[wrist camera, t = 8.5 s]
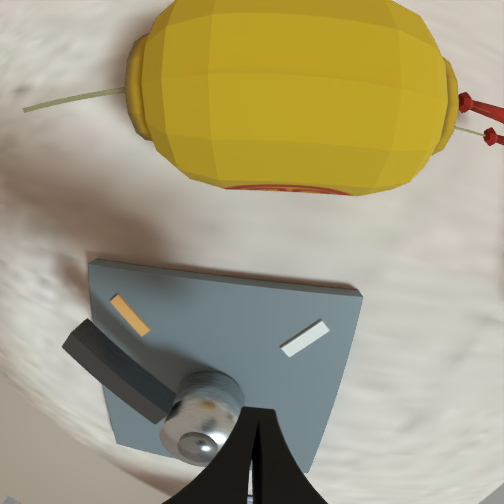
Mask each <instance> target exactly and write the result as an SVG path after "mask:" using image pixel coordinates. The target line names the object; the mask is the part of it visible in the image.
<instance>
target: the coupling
mask: <svg viewBox="0 0 504 504" xmlns="http://www.w3.org/2000/svg"><path fill="white" fill-rule="evenodd" d="M62 348H63V349H64V350H65V351H66V352H67V353H68V354H69V355H71V356H72V357H73V358H74V359H75V360H76V361H77V362H78V363H79V364H80V365H81V366H82V367H84V368H85V369H86V370H87V371H88V372H89V373H90V374H91V375H92V376H94V377H95V378H96V379H97V380H98V381H99V382H101V383H102V384H103V385H104V386H105V387H107V388H108V389H109V390H110V391H111V392H113V393H114V394H115V395H116V396H118V397H119V398H120V399H121V400H123V401H124V402H125V403H126V404H128V405H129V406H130V407H132V408H133V409H134V410H136V411H137V412H138V413H140V414H141V415H142V416H144V417H145V418H146V419H148V420H149V421H151V422H152V423H153V424H155V425H156V424H157V423H158V422H160V421H161V420H162V419H164V418H165V419H164V422H163V424H162V427H161V429H160V433H159V437H160V441H161V443H162V445H163V446H164V448H165V449H166V450H167V451H168V452H169V453H170V454H171V455H173V456H174V457H176V458H177V459H179V460H181V461H183V462H186V463H188V464H191V465H195V466H200V467H207V465H208V464H209V463H210V462H211V461H212V460H213V458H214V457H215V456H216V455H217V453H218V452H219V450H220V449H221V448H222V446H223V445H224V443H225V442H226V440H227V439H228V437H229V435H230V433H231V432H232V430H233V428H234V426H235V424H236V422H237V420H238V417H239V414H240V411H241V408H242V407H244V406H245V395H244V393H243V391H242V389H241V388H240V386H239V385H238V384H237V383H236V382H235V381H233V380H232V379H230V378H229V377H227V376H224V375H222V374H219V373H215V372H208V371H202V372H195V373H192V374H189V375H188V376H186V377H185V378H183V379H182V380H181V382H180V383H179V385H178V388H177V390H176V392H173V391H172V390H171V389H169V388H168V387H167V386H166V385H164V384H163V383H162V382H160V381H159V380H158V379H157V378H155V377H154V376H153V375H152V374H150V373H149V372H148V371H147V370H145V369H144V368H143V367H142V366H140V365H139V364H138V363H137V362H136V361H134V360H133V359H132V358H131V357H130V356H129V355H127V354H126V353H125V352H124V351H123V350H122V349H120V348H119V347H118V346H117V345H116V344H115V343H114V342H113V341H111V340H110V339H109V338H108V337H107V336H106V335H105V334H104V333H103V332H102V331H101V330H99V329H98V328H97V327H96V326H95V325H94V324H93V323H92V322H91V321H90V320H89V319H88V318H87V319H86V320H84V321H83V322H82V323H81V324H80V325H79V326H78V327H77V328H76V329H75V330H73V331H72V332H71V333H70V335H69V336H68V338H67V340H66V341H65V343H64V344H63V346H62Z"/></svg>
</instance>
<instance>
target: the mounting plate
mask: <svg viewBox="0 0 504 504" xmlns="http://www.w3.org/2000/svg"><path fill="white" fill-rule="evenodd" d="M88 275H89V288H90V300H91V310H92V319H93V324H94V325H95V326H96V327H97V328H98V329H99V330H101V331H102V332H103V333H104V334H105V335H106V336H107V337H108V338H109V339H110V340H111V341H113V342H114V343H115V344H116V345H117V346H118V347H119V348H120V349H122V350H123V351H124V352H125V353H126V354H127V355H129V356H130V357H131V358H132V359H133V360H134V361H136V362H137V363H138V364H139V365H140V366H142V367H143V368H144V369H145V370H147V371H148V372H149V373H150V374H152V375H153V376H154V377H155V378H157V379H158V380H159V381H160V382H162V383H163V384H164V385H166V386H167V387H168V388H169V389H171V390H172V391H173V392H176V390H177V388H178V385H179V383H180V382H181V380H182V379H183V378H185V377H186V376H188V375H189V374H192V373H195V372H202V371H208V372H215V373H219V374H222V375H224V376H227V377H229V378H230V379H232V380H233V381H235V382H236V383H237V384H238V385H239V386H240V388H241V389H242V391H243V393H244V395H245V406H247V407H257V408H267V409H274V410H275V411H276V415H277V419H278V422H279V426H280V428H281V431H282V434H283V436H284V439H285V441H286V443H287V445H288V448H289V450H290V452H291V454H292V456H293V457H294V459H295V461H296V463H297V465H298V466H299V468H300V469H301V471H302V473H308V472H309V470H310V467H311V465H312V462H313V460H314V457H315V454H316V452H317V449H318V447H319V444H320V441H321V439H322V436H323V433H324V430H325V428H326V425H327V422H328V419H329V416H330V413H331V410H332V407H333V404H334V401H335V398H336V395H337V392H338V389H339V386H340V382H341V379H342V376H343V372H344V369H345V366H346V362H347V359H348V355H349V352H350V348H351V344H352V341H353V337H354V333H355V329H356V325H357V321H358V317H359V313H360V309H361V305H362V300H363V296H362V295H361V293H360V292H359V290H352V289H342V288H331V287H321V286H311V285H301V284H292V283H282V282H273V281H264V280H255V279H246V278H238V277H229V276H221V275H212V274H204V273H196V272H188V271H180V270H172V269H165V268H157V267H149V266H142V265H135V264H127V263H120V262H113V261H106V260H99V259H95V260H94V261H92V262H90V263H89V264H88ZM103 388H104V393H105V398H106V402H107V407H108V411H109V415H110V419H111V423H112V427H113V431H114V435H115V439H116V443H117V444H120V445H124V446H127V447H131V448H134V449H138V450H142V451H145V452H149V453H154V454H158V455H162V456H166V457H171V458H176V457H174V456H173V455H171V454H170V453H169V452H168V451H167V450H166V449H165V448H164V446H163V445H162V443H161V441H160V437H159V433H160V429H161V427H162V424H163V422H164V419H165V418H164V419H162V420H161V421H160V422H158V423H157V424H156V425H155V424H153V423H152V422H151V421H149V420H148V419H146V418H145V417H144V416H142V415H141V414H140V413H138V412H137V411H136V410H134V409H133V408H132V407H130V406H129V405H128V404H126V403H125V402H124V401H123V400H121V399H120V398H119V397H118V396H116V395H115V394H114V393H113V392H111V391H110V390H109V389H108V388H107V387H105V386H104V385H103ZM176 459H177V458H176ZM250 470H252V461H251V465H250Z"/></svg>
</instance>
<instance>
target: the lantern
mask: <svg viewBox="0 0 504 504" xmlns="http://www.w3.org/2000/svg"><path fill="white" fill-rule="evenodd" d="M124 92H125V93H126V101H127V108H128V114H129V116H130V119H131V121H132V124H133V126H134V128H135V131H136V132H137V133H138V134H139V135H140V136H141V137H143V138H144V139H145V140H149V141H153V142H154V145H155V147H156V150H157V151H158V152H159V153H160V154H161V155H163V156H164V157H165V158H166V159H167V160H168V161H169V162H171V163H172V164H173V165H174V166H175V167H176V168H178V169H179V170H180V171H181V172H183V173H184V174H185V175H186V176H188V177H189V178H190V179H193V180H196V181H200V182H203V183H207V184H210V185H213V186H217V187H220V188H224V189H235V190H265V191H287V192H306V193H322V194H337V195H350V196H362V195H367V194H371V193H376V192H381V191H386V190H392V189H394V188H397V187H399V186H401V185H404V184H406V183H408V182H410V181H411V180H412V179H413V178H414V177H415V176H416V175H417V174H418V173H419V172H420V170H421V169H422V168H423V167H424V166H425V165H426V163H427V162H428V160H429V158H430V157H431V155H434V154H435V153H437V152H439V151H441V150H443V149H444V147H445V146H446V144H447V142H448V141H449V139H450V137H451V135H452V134H453V132H454V128H455V129H459V130H463V131H467V132H470V133H474V134H477V135H481V136H484V137H483V138H484V140H485V142H486V143H487V144H488V145H489V146H491V145H493V144H495V143H499V144H502V145H504V136H500V135H497V134H496V132H495V131H494V129H493V128H492V127H491V128H489V129H486V130H485V131H484V134H481V133H477V132H474V131H470V130H467V129H463V128H459V127H456V126H455V123H456V118H457V114H458V110H459V111H460V112H461V113H463V112H464V113H465V112H467V111H468V110H472V111H474V112H477V113H479V114H482V115H484V116H487V117H489V118H492V119H494V120H497V121H499V122H501V123H503V124H504V108H500V107H497V106H493V105H489V104H486V103H482V102H478V101H474V100H472V99H471V97H470V96H469V94H468V93H467V92H464V93H461V94H459V96H458V84H457V79H456V77H455V74H454V72H453V69H452V67H451V64H450V62H449V61H447V60H446V59H445V58H444V57H442V55H441V53H440V51H439V48H438V46H437V44H436V42H435V39H434V38H433V36H432V34H431V33H430V31H429V29H428V28H427V26H426V24H425V23H424V21H423V20H422V18H421V17H420V16H419V15H418V14H416V13H414V12H412V11H410V10H409V9H407V8H405V7H403V6H401V5H399V4H397V3H395V2H393V1H391V0H175V1H174V2H173V3H172V4H171V5H170V6H169V7H168V8H167V9H165V10H164V11H163V12H162V13H161V14H160V15H159V16H158V17H157V18H156V20H155V22H154V24H153V27H152V29H151V31H150V33H149V34H146V35H144V36H142V37H141V38H140V39H138V40H137V41H136V42H135V43H134V45H133V48H132V50H131V52H130V55H129V57H128V60H127V68H126V78H125V88H118V89H111V90H105V91H99V92H93V93H87V94H82V95H77V96H72V97H68V98H63V99H58V100H54V101H50V102H46V103H42V104H38V105H34V106H30V107H27V108H23V111H24V113H25V112H29V111H33V110H36V109H40V108H44V107H49V106H53V105H57V104H62V103H66V102H71V101H76V100H81V99H87V98H92V97H98V96H104V95H110V94H117V93H124Z"/></svg>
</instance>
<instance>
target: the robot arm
mask: <svg viewBox="0 0 504 504" xmlns="http://www.w3.org/2000/svg"><path fill="white" fill-rule="evenodd" d="M251 461H252V491H253V497H248V483H249V470H250V465H251ZM3 504H21V503H20V502H18V501H17V500H15V499H13V498H12V497H10V496H7V498H6V499H5V501H4V502H3ZM162 504H328V503H327V502H326V501H325V500H324V499H323V498H322V497H321V496H320V494H319V493H318V492H317V491H316V490H315V489H314V488H313V486H312V485H311V484H310V482H309V481H308V480H307V478H306V477H305V475H304V474H303V473H302V471H301V469H300V468H299V466H298V465H297V463H296V461H295V459H294V457H293V456H292V454H291V452H290V450H289V448H288V445H287V443H286V441H285V439H284V436H283V434H282V431H281V428H280V426H279V422H278V419H277V415H276V411H275V410H274V409H267V408H257V407H247V406H244V407H242V408H241V411H240V414H239V417H238V420H237V422H236V424H235V426H234V428H233V430H232V432H231V433H230V435H229V437H228V439H227V440H226V442H225V443H224V445H223V446H222V448H221V449H220V450H219V452H218V453H217V455H216V456H215V457H214V458H213V460H212V461H211V462H210V463H209V464H208V465H207V467H206V468H205V469H204V470H203V471H202V472H201V473H200V474H199V475H198V476H197V477H196V478H195V479H194V480H193V481H192V482H190V483H189V484H188V485H187V486H186V487H184V488H183V489H182V490H181V491H179V492H178V493H177V494H176V495H174V496H173V497H171V498H170V499H168V500H167V501H165V502H164V503H162Z"/></svg>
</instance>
